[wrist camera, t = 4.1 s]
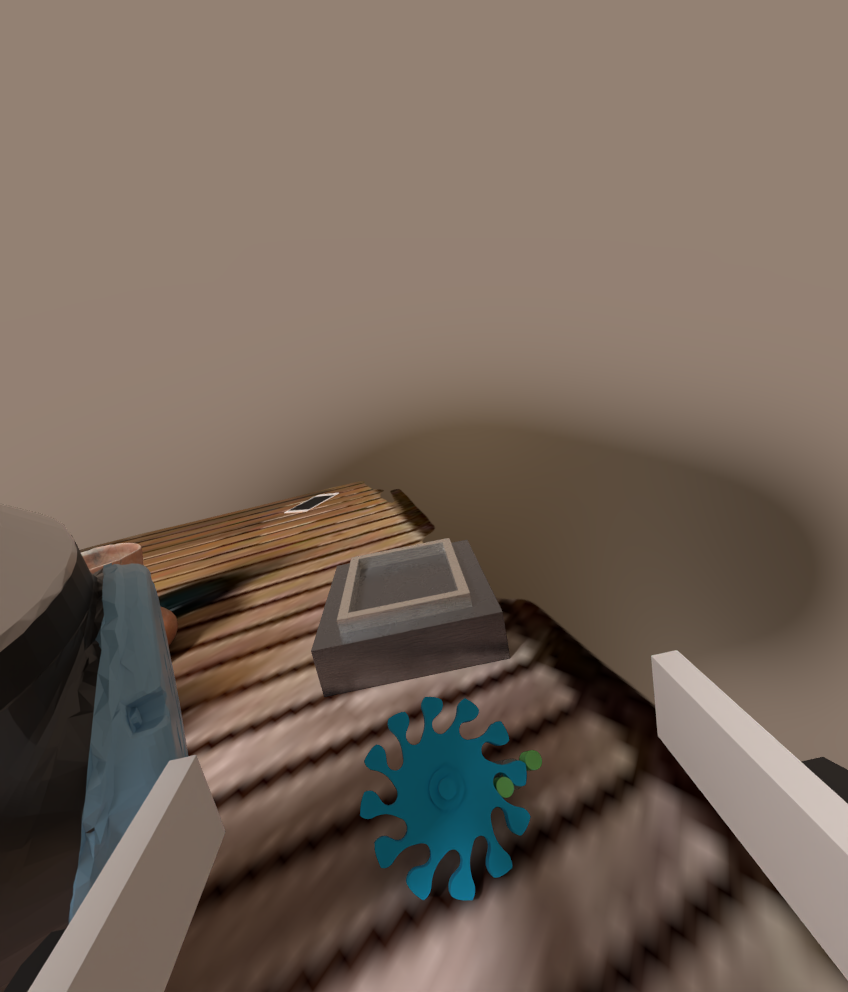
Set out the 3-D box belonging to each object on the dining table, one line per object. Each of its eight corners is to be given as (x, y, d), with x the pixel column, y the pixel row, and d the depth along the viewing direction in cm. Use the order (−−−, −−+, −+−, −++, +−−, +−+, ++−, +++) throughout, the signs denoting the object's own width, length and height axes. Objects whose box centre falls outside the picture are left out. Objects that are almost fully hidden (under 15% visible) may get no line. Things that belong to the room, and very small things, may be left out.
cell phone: (340, 494, 129) (339, 492, 129) (307, 513, 115) (306, 510, 115) (318, 496, 133) (317, 494, 132) (283, 514, 118) (283, 512, 118)
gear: (368, 930, 22) (351, 708, 27) (369, 901, 27) (355, 719, 32) (576, 876, 24) (523, 678, 29) (541, 859, 29) (501, 693, 34)
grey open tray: (324, 696, 42) (307, 637, 40) (345, 598, 61) (334, 555, 60) (509, 658, 42) (500, 597, 41) (472, 573, 62) (465, 529, 60)
